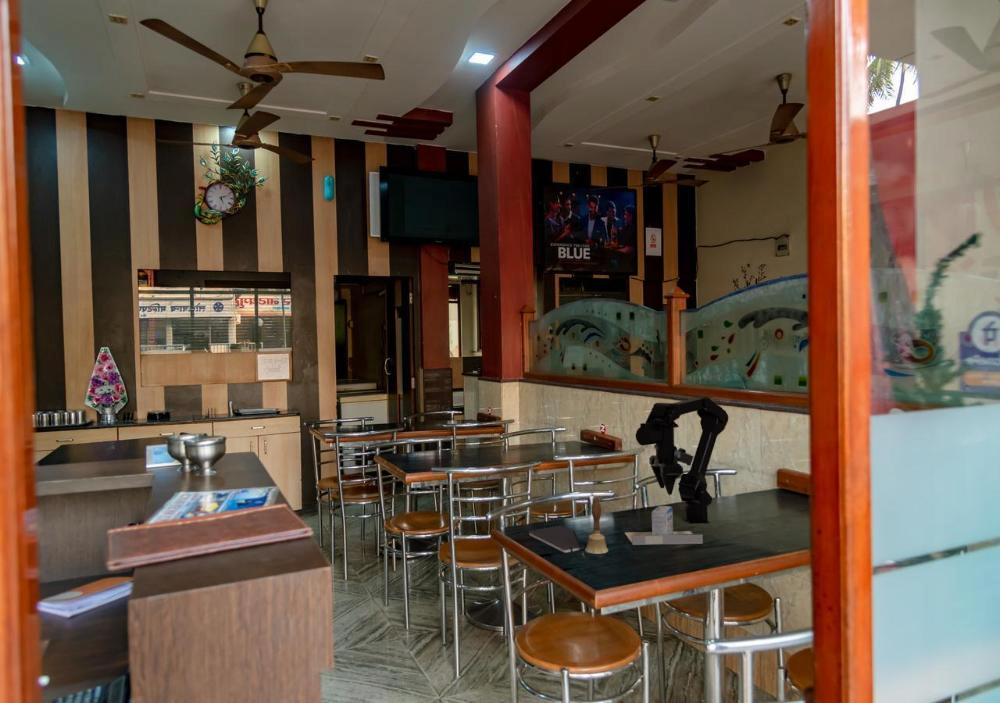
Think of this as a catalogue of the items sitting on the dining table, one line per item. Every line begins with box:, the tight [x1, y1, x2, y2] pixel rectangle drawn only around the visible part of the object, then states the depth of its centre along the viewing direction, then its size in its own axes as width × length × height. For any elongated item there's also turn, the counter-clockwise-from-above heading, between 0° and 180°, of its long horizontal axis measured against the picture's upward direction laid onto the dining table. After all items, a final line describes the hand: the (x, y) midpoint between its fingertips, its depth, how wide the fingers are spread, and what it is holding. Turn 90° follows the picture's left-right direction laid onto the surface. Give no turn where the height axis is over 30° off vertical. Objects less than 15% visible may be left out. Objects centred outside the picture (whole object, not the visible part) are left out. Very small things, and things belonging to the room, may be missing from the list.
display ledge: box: [624, 530, 700, 546], centre depth 184 cm, size 20×12×2 cm, turn 90°
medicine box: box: [651, 505, 674, 535], centre depth 184 cm, size 8×4×9 cm, turn 152°
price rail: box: [631, 533, 704, 546], centre depth 179 cm, size 20×1×2 cm, turn 90°
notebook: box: [528, 525, 583, 553], centre depth 189 cm, size 13×2×21 cm
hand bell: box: [581, 497, 609, 558], centre depth 175 cm, size 8×8×16 cm
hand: (666, 491), depth 198 cm, fingers open, 9 cm apart
